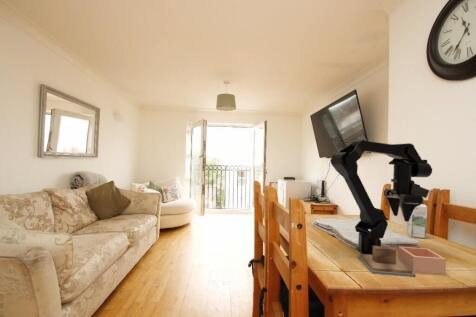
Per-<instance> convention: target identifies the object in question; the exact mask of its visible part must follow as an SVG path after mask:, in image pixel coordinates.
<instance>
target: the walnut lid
mask: <svg viewBox="0 0 476 317" xmlns="http://www.w3.org/2000/svg"><path fill="white" fill-rule="evenodd" d="M358 256H360V258H361V259H362V260H363V261H364V262H365V263H366V264H367V265H368V266H369V267H370V268H371V269H372V270H373V271H385V272H397V273H410V274H412V270H410V269H409V268H408V267H407V266H405V265H404V264H403V263H401V262H400V261H399V260H398V258H397V249H396V248H395V247H394V246H382V245H381V246H373V255H370V254H362V253H359V255H358Z"/></svg>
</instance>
